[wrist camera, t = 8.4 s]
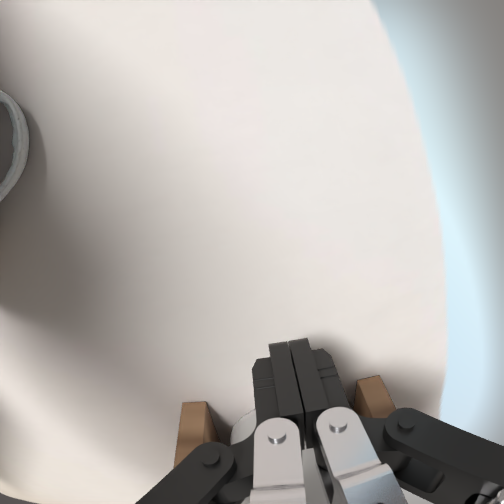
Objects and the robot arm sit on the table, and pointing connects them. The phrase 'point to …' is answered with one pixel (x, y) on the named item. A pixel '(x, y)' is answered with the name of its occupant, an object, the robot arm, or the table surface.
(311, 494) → the can
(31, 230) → the table surface
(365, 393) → the dock
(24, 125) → the ceramic mug
